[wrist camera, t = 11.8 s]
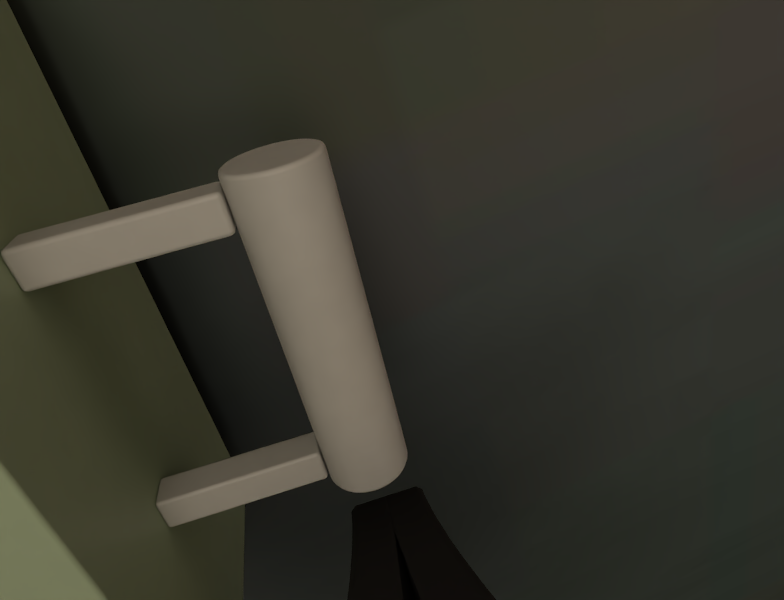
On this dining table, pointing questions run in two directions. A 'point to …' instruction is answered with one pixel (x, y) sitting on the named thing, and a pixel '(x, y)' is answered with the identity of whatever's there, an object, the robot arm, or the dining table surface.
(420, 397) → the dining table surface
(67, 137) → the drawer
